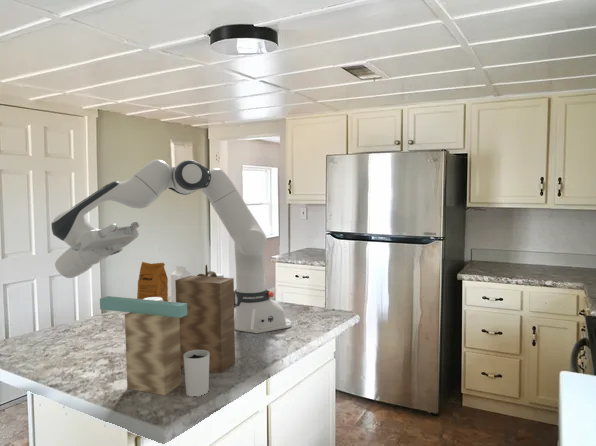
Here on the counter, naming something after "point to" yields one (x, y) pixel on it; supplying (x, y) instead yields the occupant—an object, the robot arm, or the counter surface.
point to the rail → (144, 306)
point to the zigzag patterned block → (152, 353)
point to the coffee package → (152, 281)
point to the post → (208, 319)
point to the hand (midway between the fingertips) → (126, 224)
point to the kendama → (208, 273)
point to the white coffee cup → (196, 372)
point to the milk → (176, 275)
